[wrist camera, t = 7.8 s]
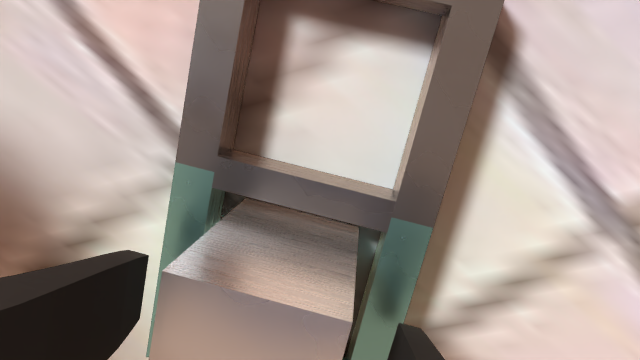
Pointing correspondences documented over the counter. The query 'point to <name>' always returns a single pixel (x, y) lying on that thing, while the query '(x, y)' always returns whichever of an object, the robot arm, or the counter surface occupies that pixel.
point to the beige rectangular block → (260, 289)
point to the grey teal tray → (319, 187)
